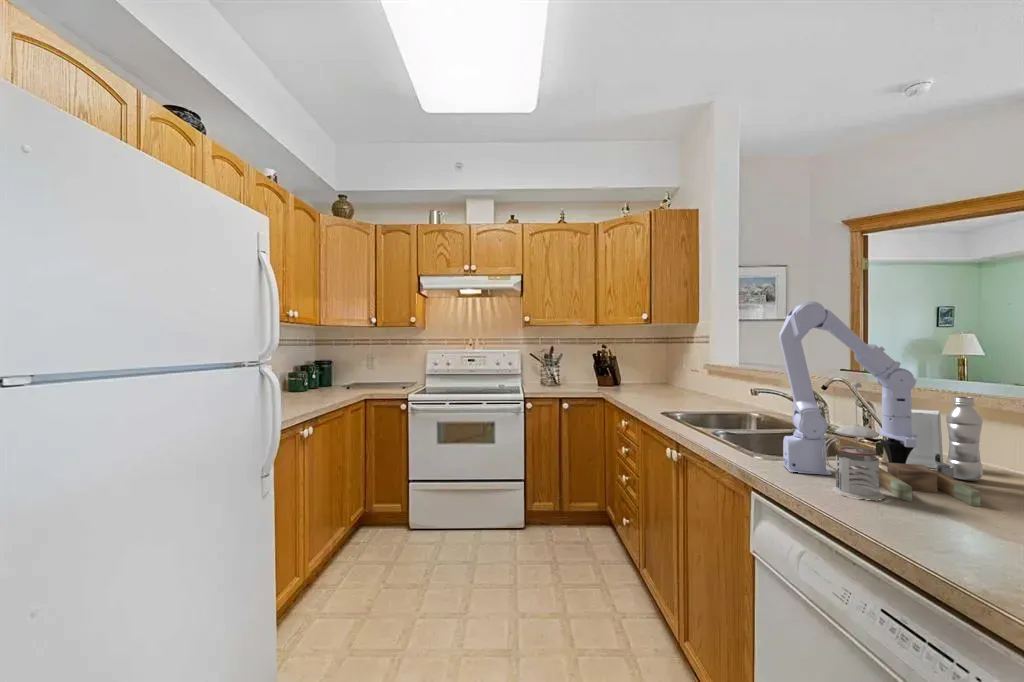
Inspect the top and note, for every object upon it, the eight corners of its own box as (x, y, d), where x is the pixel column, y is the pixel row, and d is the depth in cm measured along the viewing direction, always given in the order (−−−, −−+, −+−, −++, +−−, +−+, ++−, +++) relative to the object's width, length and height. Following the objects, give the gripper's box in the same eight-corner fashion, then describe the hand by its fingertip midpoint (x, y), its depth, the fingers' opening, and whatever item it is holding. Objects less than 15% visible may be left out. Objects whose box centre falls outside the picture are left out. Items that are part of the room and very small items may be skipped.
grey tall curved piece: (895, 502, 99) (894, 384, 99) (834, 499, 102) (833, 383, 102) (870, 487, 109) (869, 380, 109) (814, 485, 111) (813, 379, 111)
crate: (898, 489, 108) (898, 470, 108) (886, 480, 115) (886, 462, 115) (938, 493, 106) (937, 473, 106) (923, 483, 112) (923, 464, 112)
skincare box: (943, 465, 127) (942, 410, 127) (941, 470, 122) (940, 413, 122) (903, 460, 133) (902, 407, 133) (899, 464, 129) (899, 410, 128)
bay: (903, 500, 100) (903, 486, 100) (868, 476, 118) (868, 464, 118) (980, 506, 96) (980, 491, 96) (932, 480, 114) (932, 468, 114)
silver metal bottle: (966, 475, 117) (965, 395, 117) (991, 484, 111) (990, 399, 111) (938, 475, 118) (937, 395, 118) (961, 483, 111) (960, 399, 111)
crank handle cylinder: (941, 484, 110) (940, 458, 110) (929, 478, 115) (929, 453, 115) (956, 486, 110) (956, 459, 110) (944, 479, 114) (944, 454, 114)
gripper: (932, 421, 109) (932, 479, 109) (901, 411, 123) (902, 463, 123) (895, 419, 111) (896, 477, 111) (869, 410, 125) (870, 462, 125)
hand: (897, 470), depth 117 cm, fingers closed
